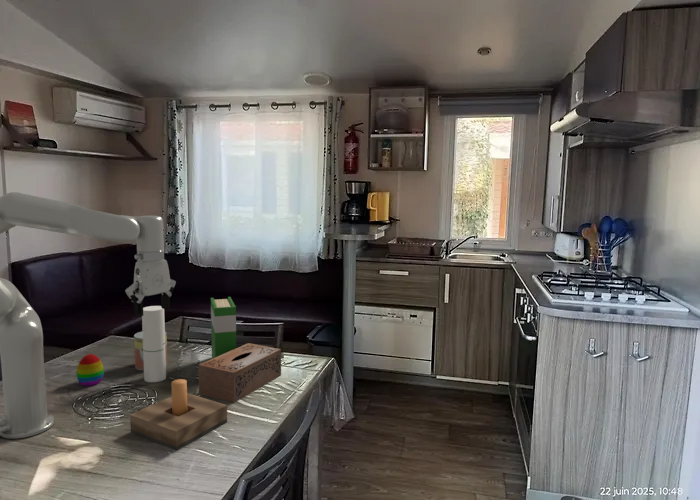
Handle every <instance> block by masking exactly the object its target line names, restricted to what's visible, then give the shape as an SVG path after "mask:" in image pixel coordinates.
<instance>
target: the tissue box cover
mask: <svg viewBox="0 0 700 500" xmlns="http://www.w3.org/2000/svg"><path fill="white" fill-rule="evenodd" d="M197 367H198V394H199V395H202V396H207V397H211V398H214V399H219V400H223V401H226V402H230V403H232V404H233V403H236V402H238V401H240V400H242V399H243V398H245V397H247V396H248V395H251V394H252V393H253V392H255V391H257V390H258V389H261V388H262V387H264V386H266V385H267V384H269V383H271V382H273V381H274V380H276V379H278V378H280V377H281V376H282V349H281V348H276V347H270V346H267V345H261V344H256V343H250V342H249V343H245V344H243V345H241V346H239V347H236V349H234V350H231V351H229V352H227V353H224V354H222V355H220V356H218V357H215V358H213V359H212V358H210V359H208V360H206V361H204V362H201V363H199V364H198V366H197Z"/></svg>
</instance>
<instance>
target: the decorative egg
mask: <svg viewBox="0 0 700 500" xmlns="http://www.w3.org/2000/svg"><path fill="white" fill-rule="evenodd" d="M104 374H105V369H104V365H103V362H102V361H101V359H100V357H98V356H97V355H95V354H93V353H88V354H86V355H85V356H83V357H82V358H81V359H80V361H79V362H78V365H77V367H76V379H77V380H78V382H79V384H81V385H82V386H85V387H89V386H90V387H91V386H96V385H98V384H99V383H101V381H102V380H103V377H104Z"/></svg>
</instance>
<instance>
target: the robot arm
mask: <svg viewBox="0 0 700 500" xmlns="http://www.w3.org/2000/svg"><path fill="white" fill-rule="evenodd" d="M17 226H18V227H25V228H30V229H37V230H43V231H48V232H55V233H59V234H66V235H70V236H78V237H84V238H85V237H86V238H90V239H98V240H101V241H109V242H114V243H119V244H120V243H121V244H130V243H132V242H134V241H135V240H136V254H134V259H135V260H136V262H135V266H134V273H133V283H132V284H131V285H129V287H127V288H126V289H125V290H124V291H125V294H126V295H127V297H128V299H129V300H131V302H132V303H133V313H134V315H135V316H137V317H138V316H139V317H142V316H143V308H144V304H143V300H144V298H145V297H150V296H155V295H159V294H161V297H160V299H161V301H160V304H161V305H160V306H161V308H162V309H164V310H170V309H171V301H170V300H171V297H172V294H173V292H174V290H175V286H176V283H177V281H176V280H174V279H171V276H170V269H169V264H168V261H167V260H166V259H165V245H164V243H165V241H164V219H163V218H162V217H161V216H159V215H140V216H135V215H134V216H133V215H132V216H131V215H125V214H114V213H110V212H104V211H100V210H96V209H90V208H87V207H84V206H82V205H78V204H75V203H71V202H66V201H61V200H57V199H51V198H45V197H43V196H42V197H41V196H36V195H31V194H26V193H21V192H17V191H15V192H14V191H13V192H7V193H5V194H3V195H2V196H0V235H1V234H3V233H5V232H8V231H9V230H11V229H13V228H15V227H17ZM134 293H135V294H134ZM44 359H45V358H44V333H43V327H42V322H41V319H40V317H39V315H38V313H37V312H36V311H35V309H34V308H33V307H32V306H31V304H30V303H29V302H28V301H27V299H26V298H25V297H24V296H23V294H22V293H21V292H20V291H19V289H18V288H17V287H16V286H15V285H14V283H12V282H11V281H10V280H8V279H6V278H3V277H0V363H1V377H2V391H3V403H4V404H3V405H4V414H5V415H2V416H0V436H1V437H2V438H5V439H23V438H29V437H33V436H35V435H38V434H41V433H43V432H46V431H47V430H49V429H50V428H51V427H52V426H53V425H54V424H55V418H54V416H53V415H52V414H48V408H47V407H48V404H47V392H46V391H47V390H46V374H45V360H44Z"/></svg>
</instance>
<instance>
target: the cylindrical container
mask: <svg viewBox="0 0 700 500" xmlns="http://www.w3.org/2000/svg"><path fill="white" fill-rule="evenodd" d="M141 321H142V322H141V326H142V327H141V328H142V330H141V331H143V359H144V370H143V381H144V382H147V383H157V382H158V383H159V382H162V381H164V380H166V378H167V365H166V353H165V331H166V327H165V325H166V324H165V309H162V308H161V305H150V306H145V307H144V306H143V316H141Z"/></svg>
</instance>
